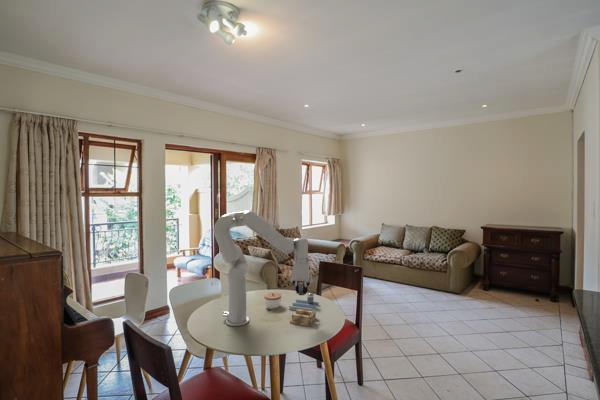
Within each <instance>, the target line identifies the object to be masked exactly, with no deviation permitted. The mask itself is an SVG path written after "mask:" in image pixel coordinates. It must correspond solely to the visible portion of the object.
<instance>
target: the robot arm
mask: <svg viewBox="0 0 600 400" xmlns="http://www.w3.org/2000/svg"><path fill="white" fill-rule="evenodd" d="M244 226H245V227H246V228H248V229H250V230H251V231H253V232H254V233H256V235H257V234H258V235H259V237H261V238H263V240H265V241H266V242H267V243H269V244H270V245H271V246H272V247H274V248H276V249H277V250H278V251H280V252H281V253H283V254H285V255H286V254H287V255H288V254H292V252H293V251H294V262H293V264H292V271H291V272H292V273H291V277H290V278H289V281H290V282H292V283H293V285H294V286H295V293H296V294H297V295H298V281H303V282H304V285H305V287H304V294H305V295H306V294H308V293H309V292H308V291H309V290H308V287H309V285H311V284H312V283H314V282H315V280H314V279H313V278H312V269H311V264H310V262H311V258H309V241H308V239H307V237H285V236H284V235H283V234H281V233H280V232H279V231H277V229H276V228H275V227H274V226H273V224H271V223H270V222H269V221H267V220H266V219H264V218H262V217H261V216H259V215H258V213H257V212H256V211H255V210H251V209H249V210H243V211H236V212H235V211H234V212H229V213H225V214H223V215H221V216H220V217H219V218H218V219H217V220H216V222H215V223H214V227H213V234H214V238H215V240H216V243H217V245H218V248H219V251H220V254H221V258H222V259H223V261H224V262H225V263H226V264H229V266H230V268H229V270H228V273H227V284H228V311H223V315H222V317H224V318H226V319H225V324H226V325H228V326H231V327H240V326H244V325H246V324H248V323H249V322H250V317H249V316H248V315H247V275H248V273H249V265H248V263H247V260H246V257H245V255H244V252H243V249H242V248H241V246H240V245H239V244H236V243H235V240H234V237H233V236H232V234H231V229H234V228H237V227H244Z"/></svg>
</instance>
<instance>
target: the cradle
mask: <svg viewBox="0 0 600 400" xmlns="http://www.w3.org/2000/svg"><path fill="white" fill-rule="evenodd" d="M316 312H317V311H315V312H314V311H307V310H300V309H297V310H295V313H292V314H291V319H290V321H289V324H292V325H293V324H295V325H300V326H306V327H312V325H313V324H314V322H315V320H316V318H317V315H316V314H317V313H316ZM298 313H300V314H307V315H310V316H306V315H299V314H298Z"/></svg>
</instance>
